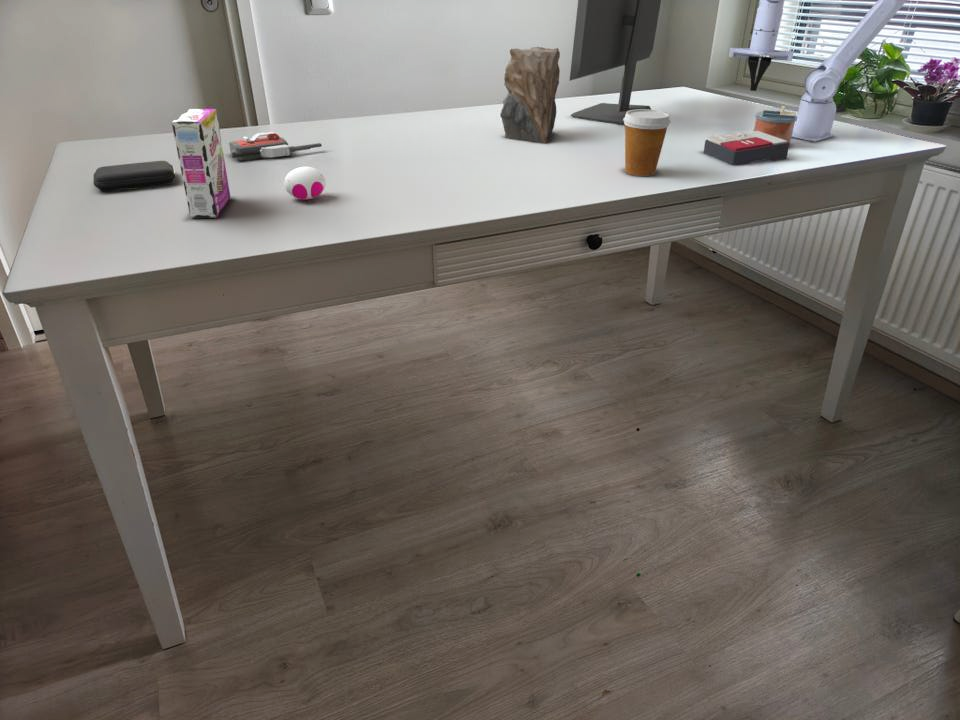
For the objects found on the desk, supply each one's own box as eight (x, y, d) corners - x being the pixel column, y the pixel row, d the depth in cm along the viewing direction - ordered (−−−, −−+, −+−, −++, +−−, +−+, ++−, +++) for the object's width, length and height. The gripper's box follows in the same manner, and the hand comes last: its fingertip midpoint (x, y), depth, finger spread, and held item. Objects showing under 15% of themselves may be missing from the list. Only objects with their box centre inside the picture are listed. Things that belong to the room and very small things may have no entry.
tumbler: (749, 146, 168) (755, 115, 164) (750, 137, 176) (756, 107, 172) (790, 150, 165) (798, 118, 162) (790, 141, 173) (797, 110, 169)
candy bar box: (219, 218, 123) (200, 122, 114) (189, 219, 122) (169, 122, 114) (232, 197, 132) (216, 107, 124) (205, 198, 132) (187, 107, 123)
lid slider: (780, 115, 165) (782, 107, 165) (780, 113, 168) (782, 105, 167) (794, 117, 165) (796, 109, 164) (794, 114, 167) (796, 106, 166)
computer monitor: (619, 99, 214) (636, -53, 193) (669, 106, 206) (692, -51, 185) (545, 126, 184) (555, -51, 163) (601, 135, 176) (619, -49, 155)
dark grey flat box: (704, 136, 161) (758, 128, 165) (702, 155, 163) (755, 146, 167) (735, 148, 152) (791, 139, 156) (732, 168, 155) (787, 158, 159)
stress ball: (291, 220, 131) (290, 198, 126) (282, 186, 134) (280, 163, 128) (331, 213, 134) (331, 191, 128) (321, 180, 137) (321, 157, 131)
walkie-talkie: (236, 164, 151) (324, 152, 160) (232, 144, 148) (321, 132, 158) (224, 155, 157) (309, 143, 166) (221, 135, 155) (307, 124, 164)
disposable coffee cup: (636, 181, 144) (644, 120, 137) (608, 169, 151) (614, 111, 145) (672, 175, 147) (681, 116, 141) (643, 163, 155) (651, 107, 148)
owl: (498, 137, 173) (500, 49, 163) (518, 126, 183) (522, 43, 172) (545, 143, 168) (551, 53, 158) (564, 132, 178) (570, 47, 168)
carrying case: (173, 170, 146) (95, 179, 141) (170, 156, 145) (91, 164, 139) (178, 185, 138) (95, 194, 133) (174, 169, 137) (91, 178, 131)
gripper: (733, 30, 166) (721, 90, 173) (798, 34, 162) (784, 95, 169) (735, 27, 172) (724, 85, 179) (798, 30, 168) (784, 90, 175)
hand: (753, 90), depth 174 cm, fingers closed
